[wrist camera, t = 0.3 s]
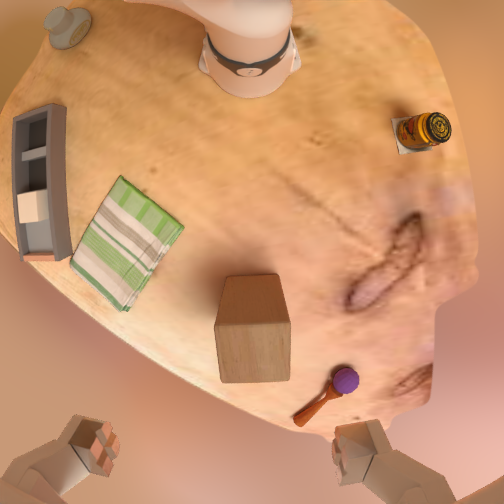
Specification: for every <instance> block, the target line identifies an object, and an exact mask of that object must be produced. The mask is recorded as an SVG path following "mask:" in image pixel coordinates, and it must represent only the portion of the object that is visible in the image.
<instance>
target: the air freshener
mask: <svg viewBox="0 0 504 504" xmlns="http://www.w3.org/2000/svg"><path fill="white" fill-rule="evenodd" d="M90 25H91V15H90V13H89V12H88V11H87V10H86V9H84V8H74V9H71V10H67V9H66V8H65V7H57V8H55V9H53V10H52V11H51V12H50V13H49V14H48V15H47V17H46V18H45V21H44V28H45V29H46V30H48V31H49V32H50V34H49V40H50V43H51V45H52V46H53V47H54V48H56V49H60V50H62V49H68V48H70V47H72V46H74V45H76V44H77V43H78V42H79V41H80V40H81V39H82V38H83V37H84V36H85V34H86V33H87V31H88V30H89V28H90Z"/></svg>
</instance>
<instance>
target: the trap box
mask: <svg viewBox="0 0 504 504" xmlns="http://www.w3.org/2000/svg"><path fill="white" fill-rule="evenodd" d="M66 111H67V107H64V106H60V105H57V104H53V103H52V104H49V105H46V106H43V107H40V108H37V109H34V110H32V111H29V112H26V113H24V114H21V115H19V116H16V117H14V118H13V128H12V192H13V207H14V217H15V226H16V234H17V242H18V248H19V254H20V260H21V261H61V260H62V259H64V258H66V257H68V256H70V255H72V254H73V252H72V244H71V237H70V228H69V218H68V207H67V193H66V170H65V133H66ZM42 190H47V197H48V210H49V219H46V220H42V221H38V222H29V223H20V221H19V211H18V199H17V195H19V194H24V193H30V192H35V191H42Z"/></svg>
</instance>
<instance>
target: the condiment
mask: <svg viewBox="0 0 504 504" xmlns="http://www.w3.org/2000/svg"><path fill="white" fill-rule="evenodd" d="M391 121H392V125H393V129H394V133H395V137H396V142H397V146H398V150H399V154H406V153H413V152H420V151H427V150H433V149H432V146H436V145H439V144H440V143H443V142H446V141H447V140H449V138H450V136H451V131H452V130H451V125H450V122H449V120H448V119H447V118H446V116H445V115H443V114H441V113H438V112H434V113H423V114H421V115H417V116H413V117H402V118H392V119H391Z"/></svg>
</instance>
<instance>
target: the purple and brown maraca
mask: <svg viewBox="0 0 504 504" xmlns="http://www.w3.org/2000/svg"><path fill="white" fill-rule="evenodd" d="M358 385H359V375H358V374H357V372H356V371H354V370H353V369H350V368H344V369H342V370H339V371H338V372H337V373H336V374H335V376H334V379H333V383H331V384H330V386H329V388H328V391H327V393H326V396H325V397H324V398H323V399H321V400H320V401H319V402H317V403H316V404H314V405H313V406H311V407H309V408H308V409H306V410H305V411H303V412H302V413H300V414H299V415H297V416H295V417H294V418H293V420H294V423H295V424H296V425H297V426H299V427H302V426H304V425H305V424H306V423H307V422H308V421H309V420H310V419H311V418H312V417H313V415H314V414H315V413H316V412H317V411H318V410H319V409H320V408H321V407H322V406H323V405H324V404H325V403H326V402H327V401H328V400H331V399H335V398H338V397H342V396H343V394H348V393H351V392H353V391H354V390H355V389H356V388H357V387H358Z"/></svg>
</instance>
